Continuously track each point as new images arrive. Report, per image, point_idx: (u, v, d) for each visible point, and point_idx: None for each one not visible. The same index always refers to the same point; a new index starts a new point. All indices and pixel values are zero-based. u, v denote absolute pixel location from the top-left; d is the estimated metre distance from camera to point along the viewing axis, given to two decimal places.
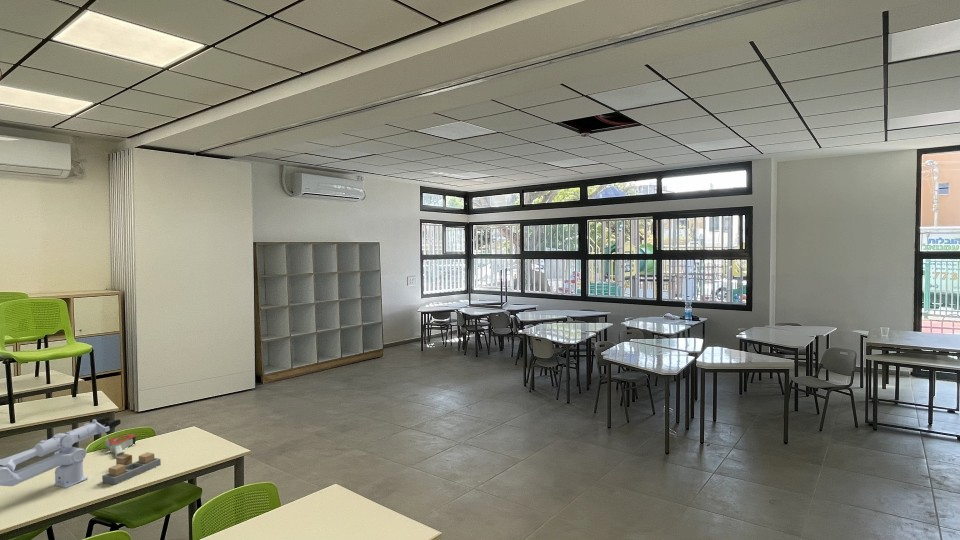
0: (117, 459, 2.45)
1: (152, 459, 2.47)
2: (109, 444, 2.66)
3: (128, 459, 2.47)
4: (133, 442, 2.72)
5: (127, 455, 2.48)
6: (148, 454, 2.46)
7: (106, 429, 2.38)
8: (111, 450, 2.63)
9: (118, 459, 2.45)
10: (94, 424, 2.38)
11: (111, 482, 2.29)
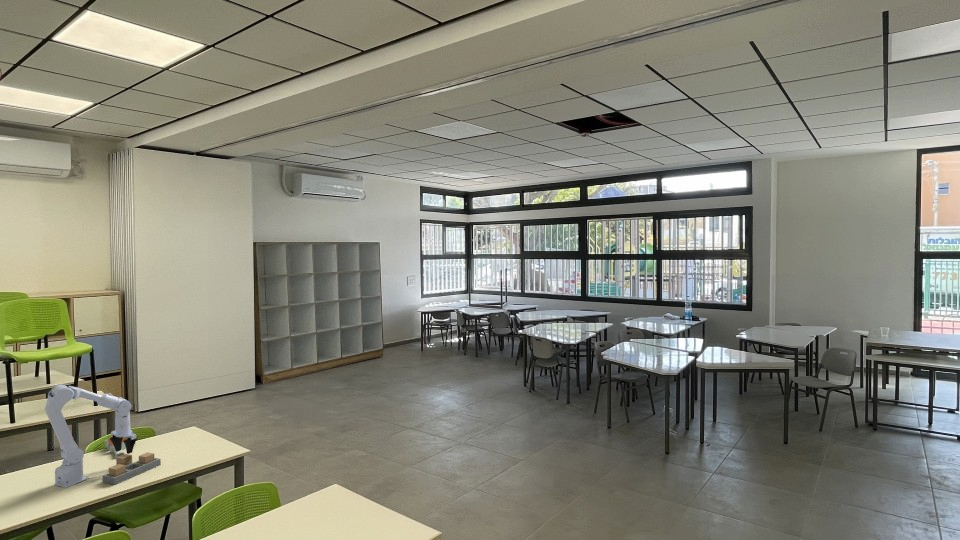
0: (117, 459, 2.45)
1: (152, 459, 2.47)
2: (109, 444, 2.65)
3: (128, 459, 2.47)
4: None
5: (127, 455, 2.48)
6: (148, 454, 2.46)
7: (134, 436, 2.44)
8: (111, 450, 2.62)
9: (118, 459, 2.45)
10: (130, 430, 2.48)
11: (111, 482, 2.29)
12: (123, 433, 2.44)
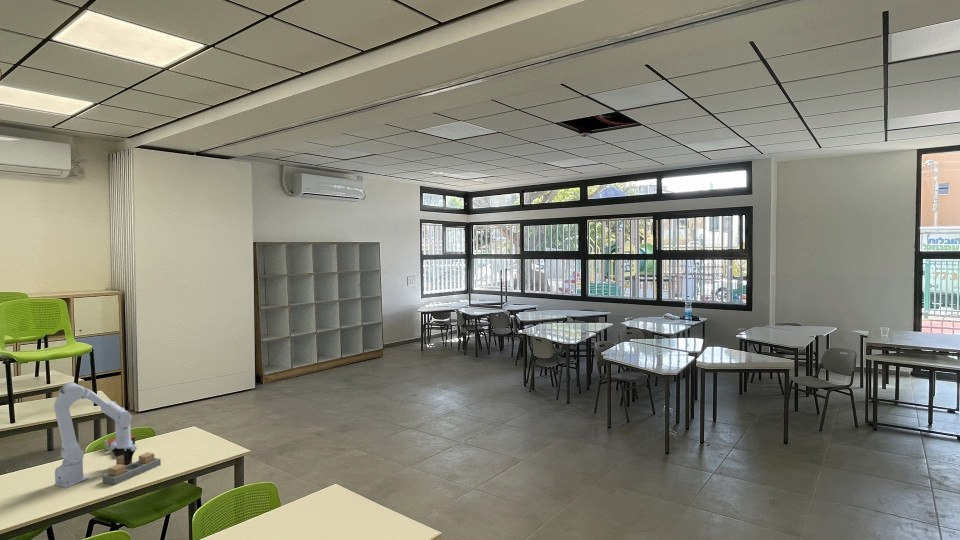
0: (117, 458, 2.45)
1: (152, 459, 2.47)
2: (108, 445, 2.65)
3: None
4: (132, 443, 2.72)
5: None
6: (148, 454, 2.46)
7: (134, 447, 2.44)
8: (110, 451, 2.62)
9: (118, 459, 2.45)
10: (130, 441, 2.48)
11: (111, 482, 2.29)
12: (123, 444, 2.44)
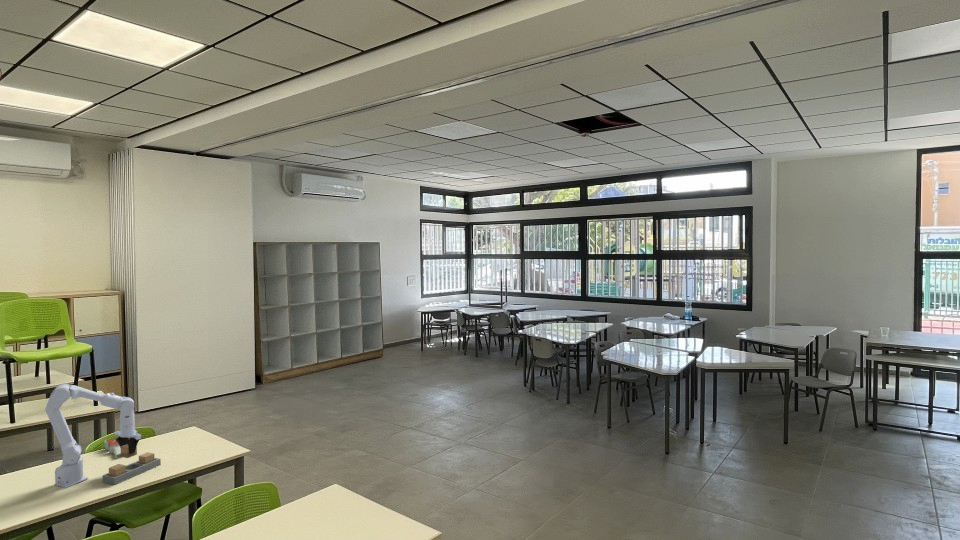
0: (122, 448, 2.41)
1: (152, 459, 2.47)
2: (108, 445, 2.65)
3: None
4: None
5: None
6: (148, 454, 2.46)
7: (139, 436, 2.40)
8: (110, 451, 2.61)
9: (122, 448, 2.41)
10: (134, 430, 2.44)
11: (111, 482, 2.29)
12: (128, 433, 2.40)
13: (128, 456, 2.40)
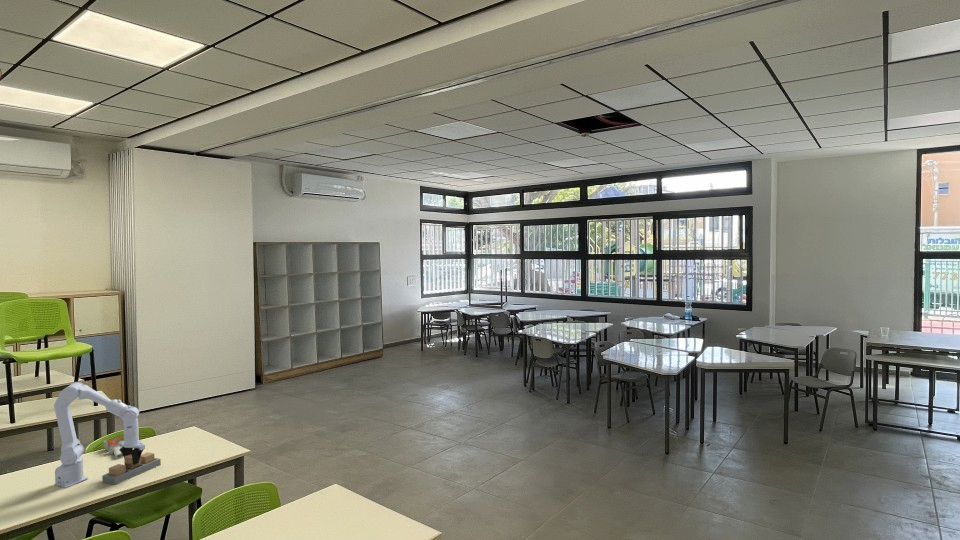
0: (126, 458, 2.38)
1: (152, 459, 2.47)
2: (108, 445, 2.64)
3: None
4: None
5: None
6: (148, 454, 2.46)
7: (143, 446, 2.37)
8: (110, 451, 2.61)
9: (126, 458, 2.38)
10: (138, 440, 2.41)
11: (111, 482, 2.29)
12: (131, 443, 2.37)
13: (132, 467, 2.37)
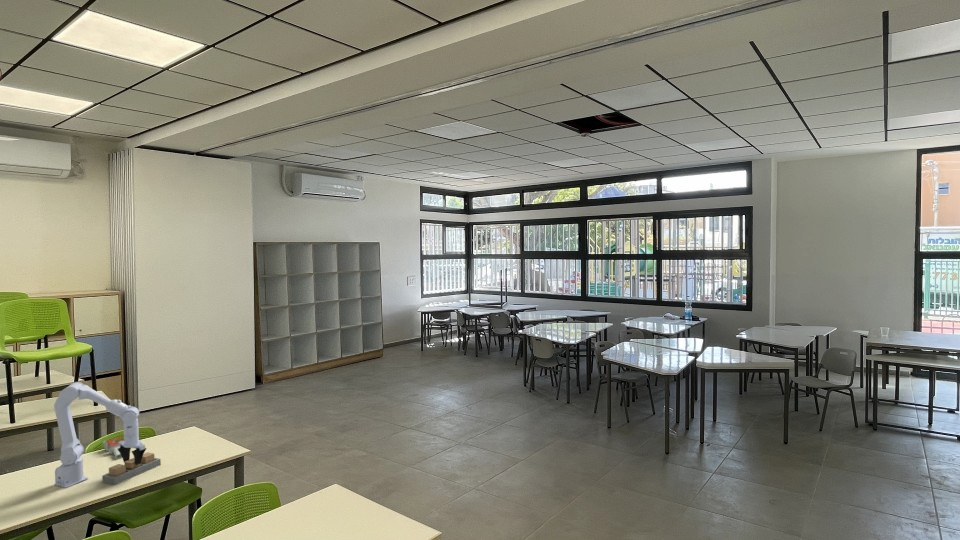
0: (126, 463, 2.38)
1: (152, 459, 2.47)
2: (107, 446, 2.64)
3: None
4: None
5: None
6: (148, 454, 2.46)
7: (143, 446, 2.37)
8: (110, 452, 2.61)
9: (126, 463, 2.38)
10: (138, 440, 2.41)
11: (111, 482, 2.29)
12: (131, 443, 2.37)
13: None
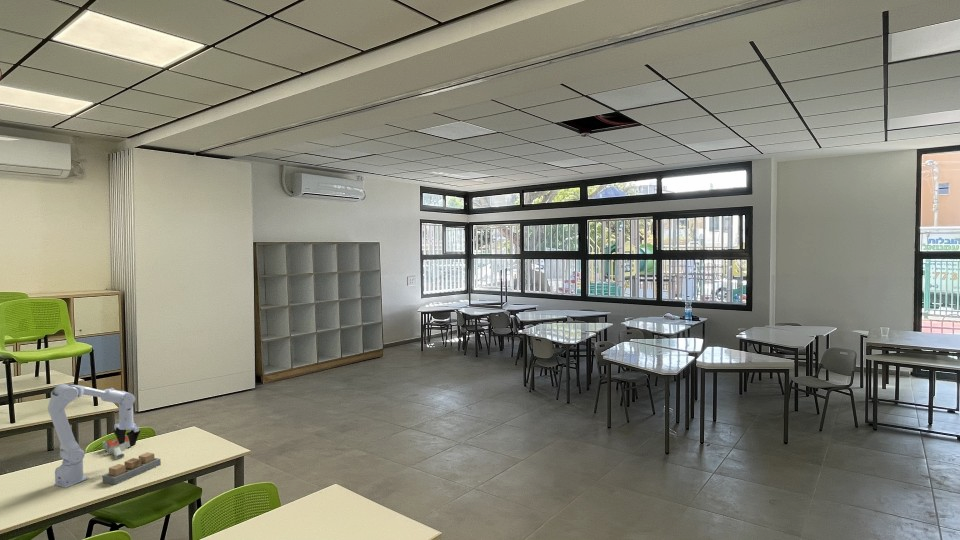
0: (126, 463, 2.38)
1: (152, 459, 2.47)
2: (107, 446, 2.63)
3: (137, 463, 2.40)
4: None
5: (136, 459, 2.40)
6: (148, 454, 2.46)
7: (137, 428, 2.47)
8: (110, 452, 2.60)
9: (126, 463, 2.38)
10: (133, 423, 2.51)
11: (111, 482, 2.29)
12: (126, 426, 2.47)
13: None
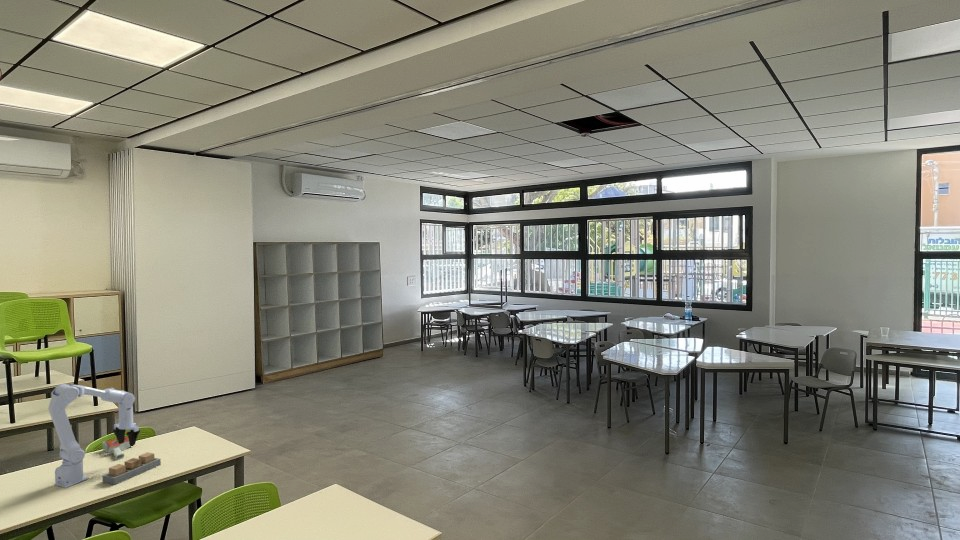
0: (126, 463, 2.38)
1: (152, 459, 2.47)
2: (107, 446, 2.63)
3: (137, 463, 2.40)
4: None
5: (136, 459, 2.40)
6: (148, 454, 2.46)
7: (137, 428, 2.47)
8: (109, 452, 2.60)
9: (126, 463, 2.38)
10: None
11: (111, 482, 2.29)
12: (126, 425, 2.47)
13: None
